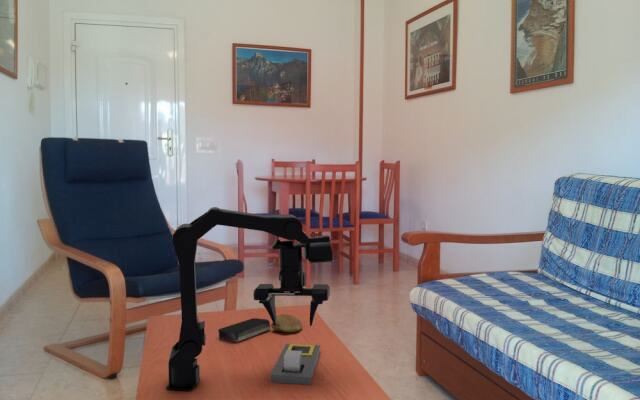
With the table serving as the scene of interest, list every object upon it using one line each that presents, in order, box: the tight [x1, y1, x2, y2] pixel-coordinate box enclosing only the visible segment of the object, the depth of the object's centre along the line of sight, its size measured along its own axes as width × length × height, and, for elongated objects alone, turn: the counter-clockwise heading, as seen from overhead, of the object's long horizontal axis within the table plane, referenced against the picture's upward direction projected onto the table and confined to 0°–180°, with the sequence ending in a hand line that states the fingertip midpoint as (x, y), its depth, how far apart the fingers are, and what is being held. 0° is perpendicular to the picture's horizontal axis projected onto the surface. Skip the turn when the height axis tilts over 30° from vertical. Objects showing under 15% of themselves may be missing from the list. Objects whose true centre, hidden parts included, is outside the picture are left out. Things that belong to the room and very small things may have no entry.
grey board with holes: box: [269, 343, 321, 386], centre depth 139 cm, size 10×21×2 cm, turn 173°
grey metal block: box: [284, 350, 302, 373], centre depth 133 cm, size 4×4×6 cm
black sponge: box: [217, 317, 271, 343], centre depth 163 cm, size 16×8×4 cm, turn 140°
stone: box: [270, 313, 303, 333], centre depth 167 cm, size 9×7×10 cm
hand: (293, 325), depth 132 cm, fingers open, 9 cm apart
